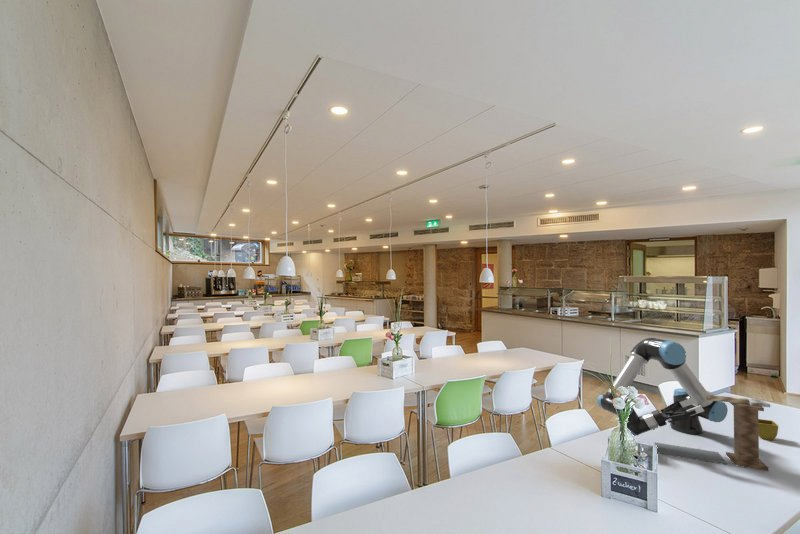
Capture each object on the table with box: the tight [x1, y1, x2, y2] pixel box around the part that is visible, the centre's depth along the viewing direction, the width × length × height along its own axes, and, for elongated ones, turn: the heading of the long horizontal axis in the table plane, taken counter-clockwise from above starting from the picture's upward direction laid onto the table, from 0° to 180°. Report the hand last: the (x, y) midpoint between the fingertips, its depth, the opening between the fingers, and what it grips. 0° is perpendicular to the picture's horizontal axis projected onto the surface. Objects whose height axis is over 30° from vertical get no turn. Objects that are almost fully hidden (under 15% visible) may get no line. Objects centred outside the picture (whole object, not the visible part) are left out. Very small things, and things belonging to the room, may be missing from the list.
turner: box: [706, 394, 771, 408], centre depth 187 cm, size 23×7×2 cm, turn 71°
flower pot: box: [758, 418, 779, 441], centre depth 214 cm, size 9×9×9 cm
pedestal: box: [725, 402, 769, 472], centre depth 185 cm, size 12×12×28 cm
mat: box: [654, 441, 728, 465], centre depth 194 cm, size 27×13×1 cm, turn 66°
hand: (698, 403), depth 192 cm, fingers open, 13 cm apart
